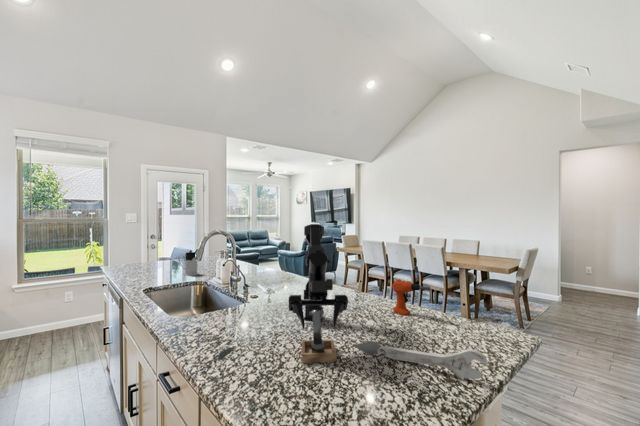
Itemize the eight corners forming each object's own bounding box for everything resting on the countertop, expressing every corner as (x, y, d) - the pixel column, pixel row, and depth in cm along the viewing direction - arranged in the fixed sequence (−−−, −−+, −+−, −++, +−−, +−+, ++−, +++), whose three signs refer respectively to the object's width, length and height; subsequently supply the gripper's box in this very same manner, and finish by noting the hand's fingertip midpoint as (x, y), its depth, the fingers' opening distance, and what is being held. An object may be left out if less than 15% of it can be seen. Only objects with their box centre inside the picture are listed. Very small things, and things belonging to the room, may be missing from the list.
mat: (353, 347, 101) (353, 345, 101) (371, 341, 105) (371, 340, 105) (370, 356, 94) (370, 355, 94) (388, 350, 99) (388, 349, 99)
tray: (302, 363, 89) (302, 354, 89) (301, 348, 99) (301, 340, 99) (336, 362, 90) (336, 353, 90) (332, 347, 100) (332, 339, 100)
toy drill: (430, 319, 124) (426, 281, 125) (391, 314, 138) (388, 279, 139) (436, 317, 127) (432, 280, 129) (397, 311, 141) (394, 278, 143)
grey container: (193, 276, 211) (193, 254, 211) (174, 275, 214) (174, 253, 214) (200, 273, 220) (200, 252, 220) (182, 272, 222) (182, 251, 222)
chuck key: (311, 356, 93) (309, 313, 93) (310, 349, 97) (308, 308, 97) (326, 354, 93) (324, 312, 93) (324, 348, 97) (322, 307, 97)
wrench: (380, 363, 96) (489, 382, 79) (378, 366, 95) (488, 386, 78) (378, 337, 97) (486, 350, 80) (375, 339, 95) (485, 353, 78)
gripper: (289, 269, 98) (287, 316, 87) (347, 269, 99) (353, 315, 88) (289, 288, 106) (288, 333, 95) (343, 288, 107) (348, 332, 96)
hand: (319, 328), depth 93 cm, fingers open, 9 cm apart
